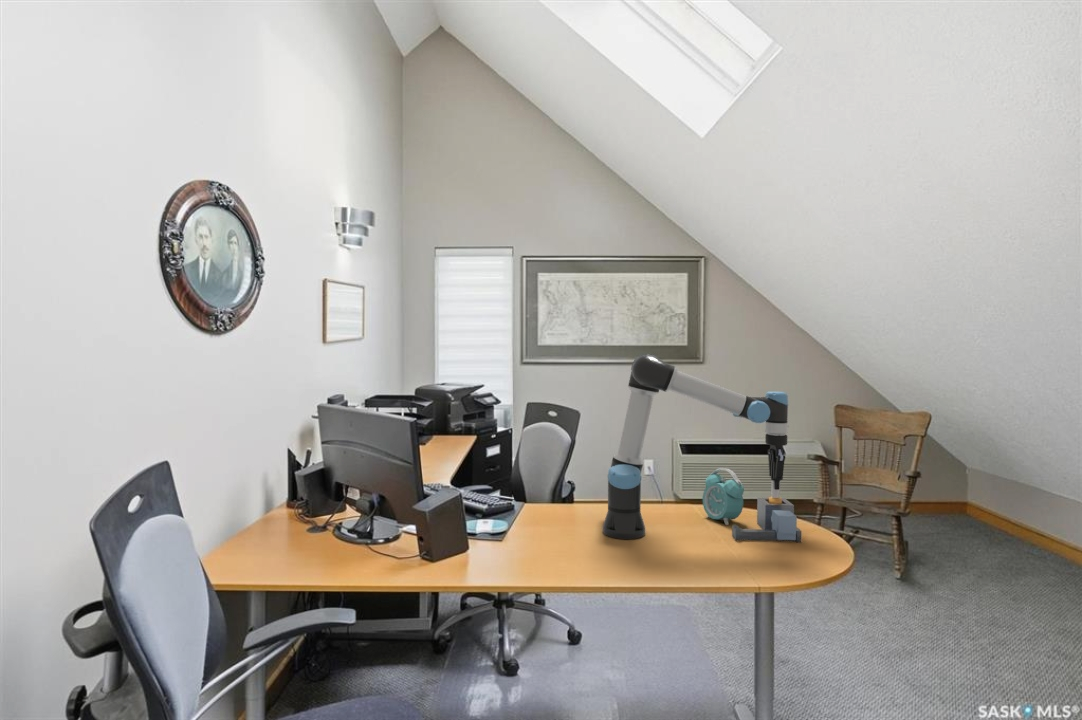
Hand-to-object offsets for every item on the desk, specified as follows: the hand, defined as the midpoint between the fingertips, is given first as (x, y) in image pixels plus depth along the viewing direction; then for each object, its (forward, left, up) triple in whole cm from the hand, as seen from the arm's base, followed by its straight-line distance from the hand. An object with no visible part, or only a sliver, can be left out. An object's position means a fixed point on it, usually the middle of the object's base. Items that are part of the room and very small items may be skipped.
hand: (775, 497), depth 220 cm
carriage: (-1, -13, -11) cm, 17 cm away
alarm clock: (-17, +9, -12) cm, 23 cm away
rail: (-7, -13, -12) cm, 19 cm away
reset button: (0, 0, -4) cm, 4 cm away
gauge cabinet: (0, 0, -12) cm, 12 cm away
